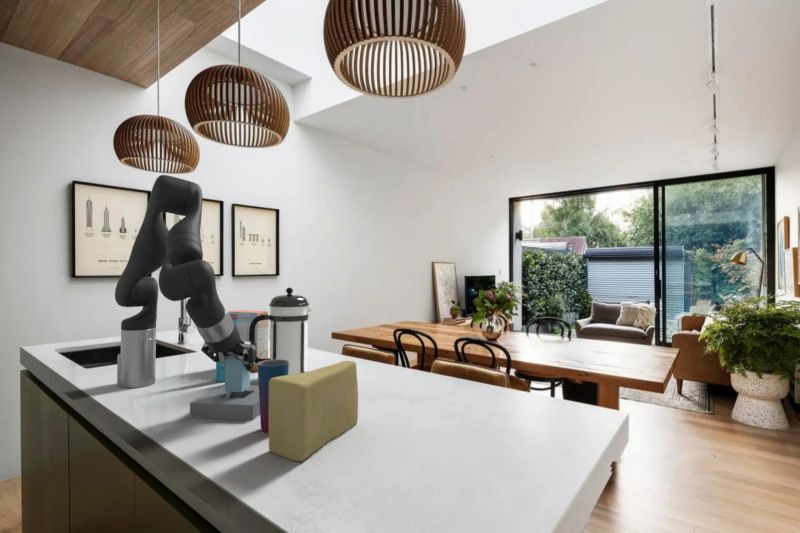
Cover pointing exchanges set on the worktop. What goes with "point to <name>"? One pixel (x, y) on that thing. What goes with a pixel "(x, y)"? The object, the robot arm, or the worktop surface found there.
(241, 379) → the white-topped blue pillar
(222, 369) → the tube
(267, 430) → the cup
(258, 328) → the cracker box
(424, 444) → the worktop surface
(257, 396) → the socket
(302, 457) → the cheese
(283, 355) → the coffee press
